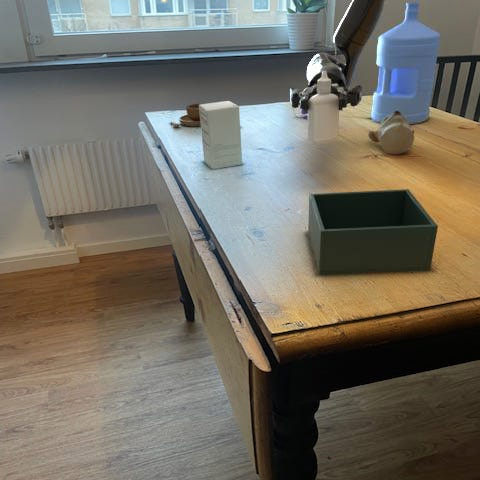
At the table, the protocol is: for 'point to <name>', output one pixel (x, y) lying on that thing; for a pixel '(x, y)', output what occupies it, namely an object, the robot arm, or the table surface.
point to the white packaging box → (221, 134)
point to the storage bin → (370, 232)
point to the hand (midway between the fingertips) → (323, 104)
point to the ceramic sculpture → (393, 134)
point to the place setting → (190, 116)
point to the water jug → (406, 69)
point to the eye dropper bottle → (323, 114)
